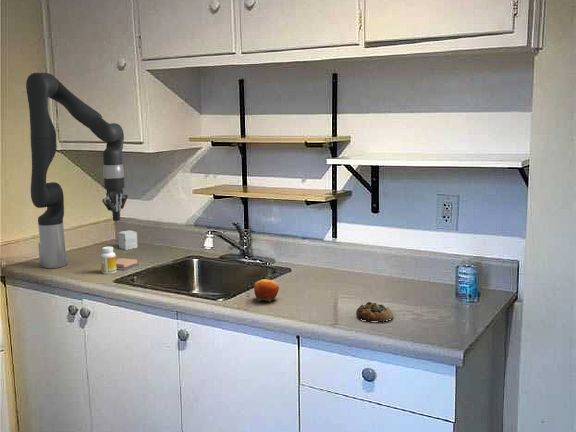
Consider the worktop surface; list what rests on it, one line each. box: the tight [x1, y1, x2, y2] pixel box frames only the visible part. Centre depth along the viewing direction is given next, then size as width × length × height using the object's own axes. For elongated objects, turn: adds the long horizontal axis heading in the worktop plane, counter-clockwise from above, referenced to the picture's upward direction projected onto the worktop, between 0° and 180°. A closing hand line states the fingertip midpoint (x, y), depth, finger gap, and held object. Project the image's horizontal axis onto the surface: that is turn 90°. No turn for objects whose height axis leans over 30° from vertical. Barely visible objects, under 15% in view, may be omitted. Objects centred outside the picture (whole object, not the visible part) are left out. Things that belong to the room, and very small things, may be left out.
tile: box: [116, 257, 138, 268], centre depth 249 cm, size 8×1×8 cm
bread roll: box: [355, 301, 394, 322], centre depth 185 cm, size 11×11×5 cm
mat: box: [101, 263, 140, 272], centre depth 247 cm, size 11×9×1 cm
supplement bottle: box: [100, 246, 118, 275], centre depth 238 cm, size 5×5×10 cm
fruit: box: [253, 278, 280, 303], centre depth 202 cm, size 8×8×8 cm
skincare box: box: [117, 230, 139, 251], centre depth 279 cm, size 6×6×7 cm
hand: (116, 220), depth 242 cm, fingers closed
